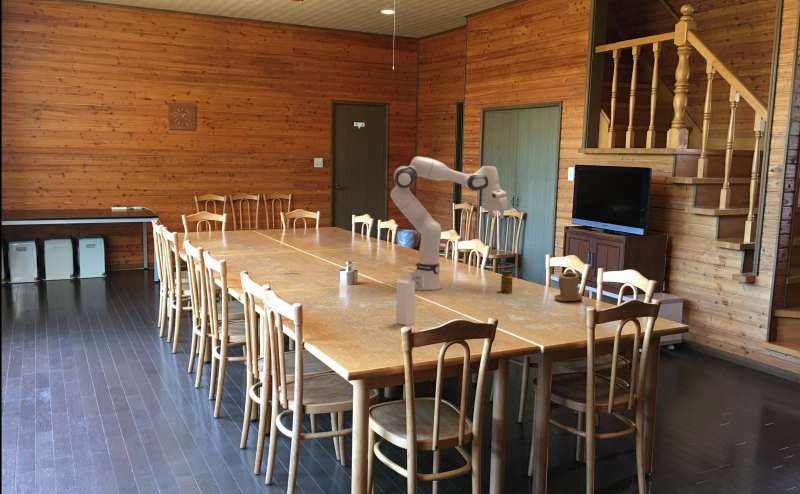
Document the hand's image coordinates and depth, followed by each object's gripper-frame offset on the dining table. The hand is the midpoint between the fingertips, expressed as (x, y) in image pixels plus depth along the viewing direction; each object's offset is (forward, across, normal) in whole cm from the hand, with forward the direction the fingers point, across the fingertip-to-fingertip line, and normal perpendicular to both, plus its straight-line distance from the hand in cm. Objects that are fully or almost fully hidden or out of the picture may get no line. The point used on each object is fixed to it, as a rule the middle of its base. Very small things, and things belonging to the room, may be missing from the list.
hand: (497, 218), depth 366 cm
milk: (+30, +46, -85) cm, 101 cm away
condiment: (+40, +7, -7) cm, 42 cm away
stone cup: (+47, +36, +13) cm, 60 cm away
